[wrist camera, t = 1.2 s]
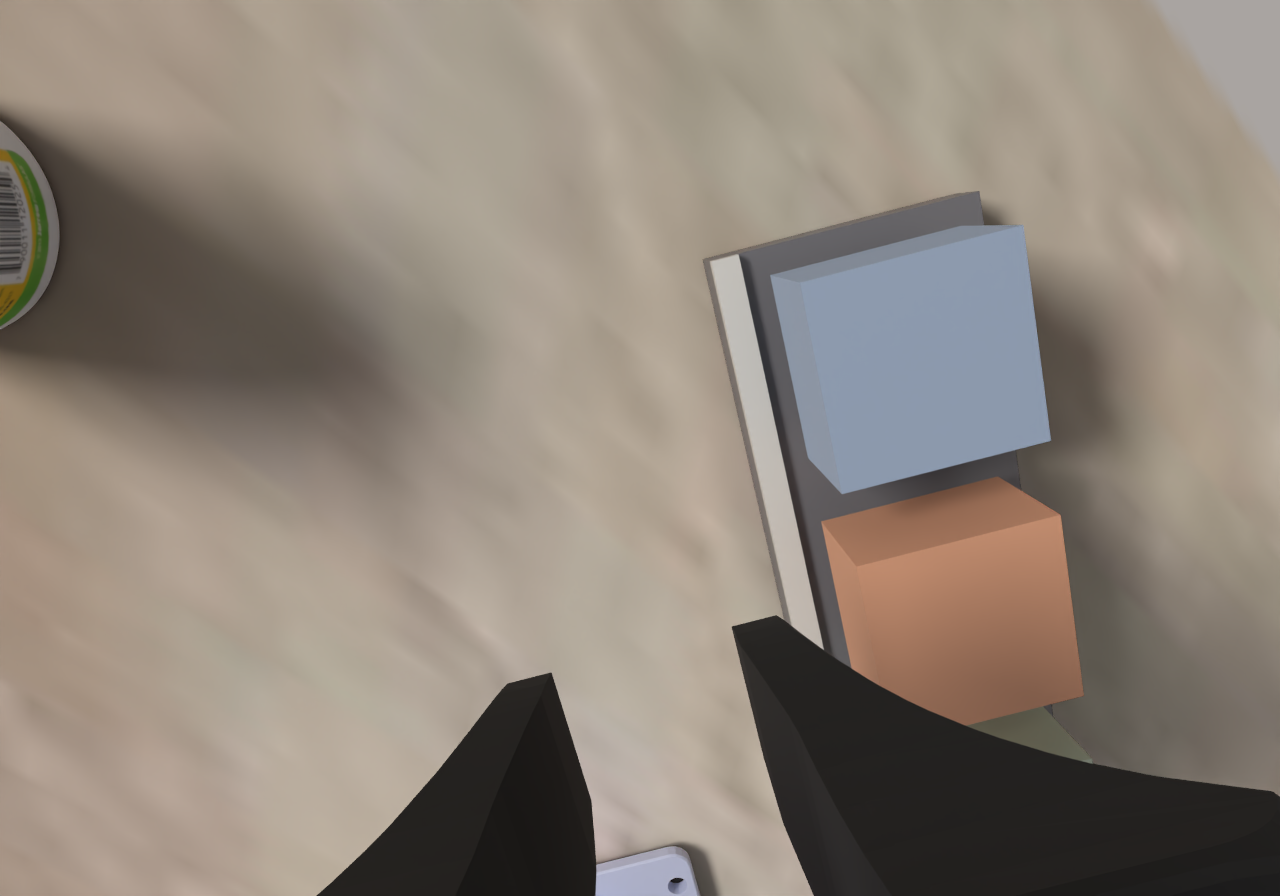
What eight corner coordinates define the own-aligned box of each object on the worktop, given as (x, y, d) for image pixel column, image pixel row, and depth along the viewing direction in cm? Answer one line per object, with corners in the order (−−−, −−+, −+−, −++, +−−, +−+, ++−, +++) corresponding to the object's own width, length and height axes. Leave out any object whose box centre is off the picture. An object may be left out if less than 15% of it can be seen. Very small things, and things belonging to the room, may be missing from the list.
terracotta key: (1021, 636, 20) (1084, 696, 17) (853, 678, 20) (891, 744, 17) (997, 476, 19) (1060, 514, 16) (821, 521, 19) (856, 566, 16)
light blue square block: (988, 411, 18) (1051, 441, 16) (807, 457, 18) (842, 494, 16) (961, 225, 17) (1023, 224, 15) (770, 275, 17) (799, 282, 15)
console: (1042, 777, 23) (1071, 813, 22) (832, 830, 24) (847, 869, 22) (956, 193, 19) (985, 190, 18) (702, 259, 20) (711, 261, 18)
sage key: (1050, 831, 21) (1111, 912, 19) (893, 870, 21) (934, 956, 19) (1029, 692, 20) (1091, 758, 18) (865, 733, 20) (904, 805, 18)
